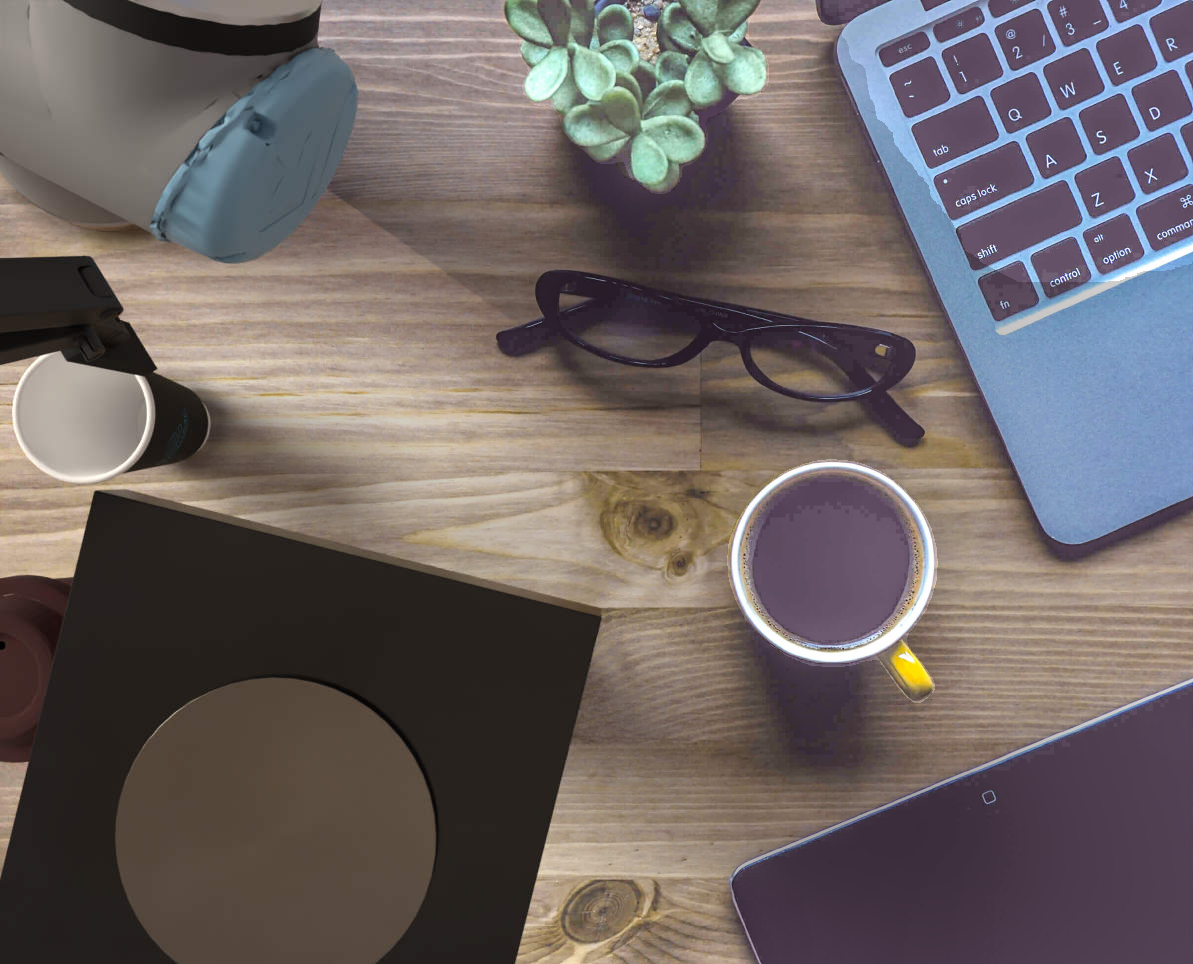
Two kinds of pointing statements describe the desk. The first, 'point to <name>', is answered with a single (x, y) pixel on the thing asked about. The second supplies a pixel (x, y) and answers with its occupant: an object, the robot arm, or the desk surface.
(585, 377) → the desk surface
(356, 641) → the stove
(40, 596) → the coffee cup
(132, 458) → the dixie cup
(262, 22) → the robot arm
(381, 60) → the desk surface
